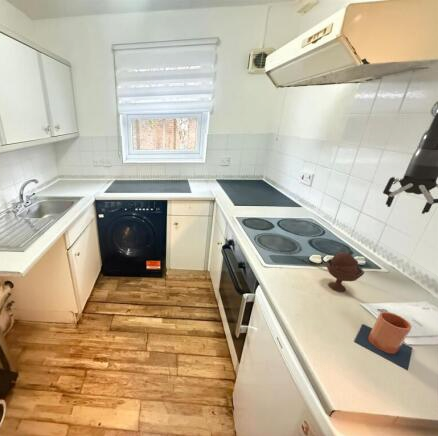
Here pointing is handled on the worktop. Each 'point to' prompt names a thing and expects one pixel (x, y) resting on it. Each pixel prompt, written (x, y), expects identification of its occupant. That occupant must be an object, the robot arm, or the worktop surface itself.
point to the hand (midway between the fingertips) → (405, 209)
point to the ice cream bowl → (343, 270)
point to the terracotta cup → (389, 332)
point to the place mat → (398, 358)
